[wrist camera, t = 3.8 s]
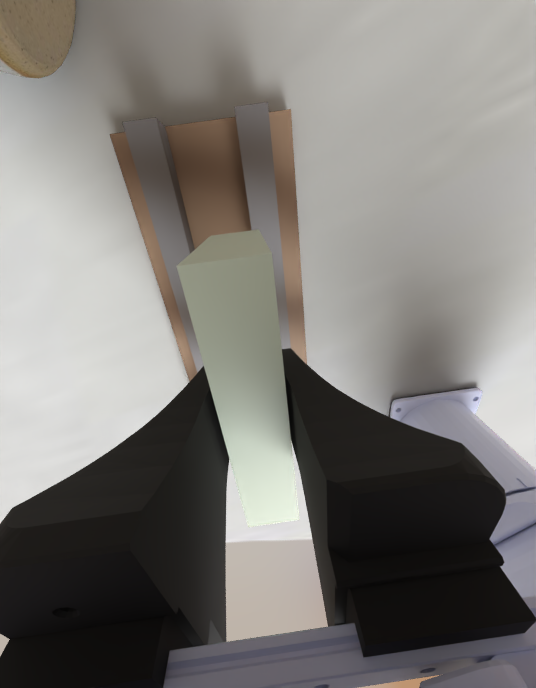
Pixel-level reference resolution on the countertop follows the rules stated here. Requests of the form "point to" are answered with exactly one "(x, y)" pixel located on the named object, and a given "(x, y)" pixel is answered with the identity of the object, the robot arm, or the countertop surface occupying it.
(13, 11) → the grey cylinder
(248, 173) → the track board
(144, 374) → the countertop surface
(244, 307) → the door panel
